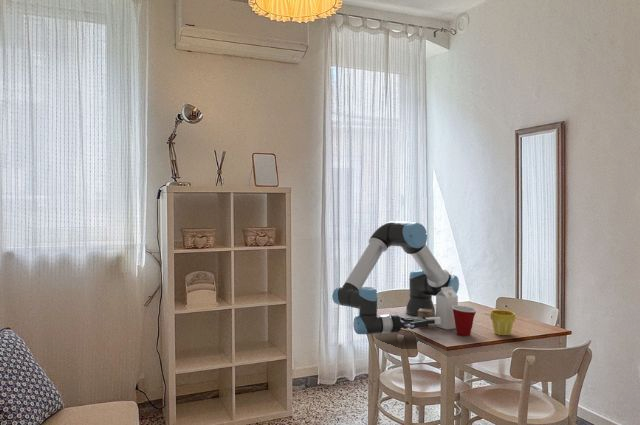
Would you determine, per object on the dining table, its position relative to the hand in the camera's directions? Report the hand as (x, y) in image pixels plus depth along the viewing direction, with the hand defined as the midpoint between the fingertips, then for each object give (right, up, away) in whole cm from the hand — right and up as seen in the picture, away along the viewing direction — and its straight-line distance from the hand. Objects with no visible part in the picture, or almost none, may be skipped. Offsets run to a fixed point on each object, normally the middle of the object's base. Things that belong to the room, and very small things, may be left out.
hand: (439, 320), depth 205 cm
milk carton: (+7, -7, +15) cm, 18 cm away
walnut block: (-3, -7, +16) cm, 17 cm away
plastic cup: (+12, -7, +3) cm, 14 cm away
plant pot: (+29, -7, +3) cm, 30 cm away
